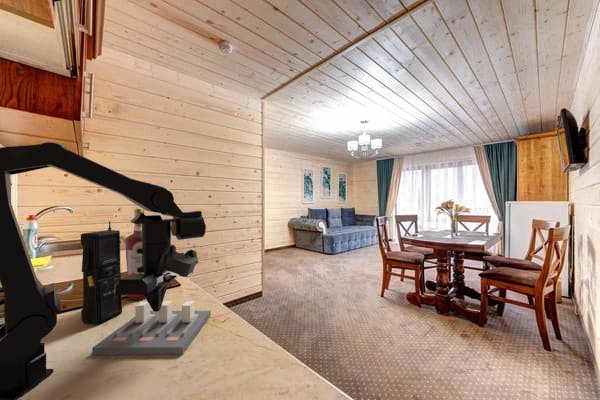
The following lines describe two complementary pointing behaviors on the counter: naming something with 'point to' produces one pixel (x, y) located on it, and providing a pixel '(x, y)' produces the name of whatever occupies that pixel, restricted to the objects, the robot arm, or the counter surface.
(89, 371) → the counter surface
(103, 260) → the portable radio
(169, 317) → the breaker middle
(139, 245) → the liquor
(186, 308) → the block
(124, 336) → the panel
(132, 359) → the counter surface
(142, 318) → the block
